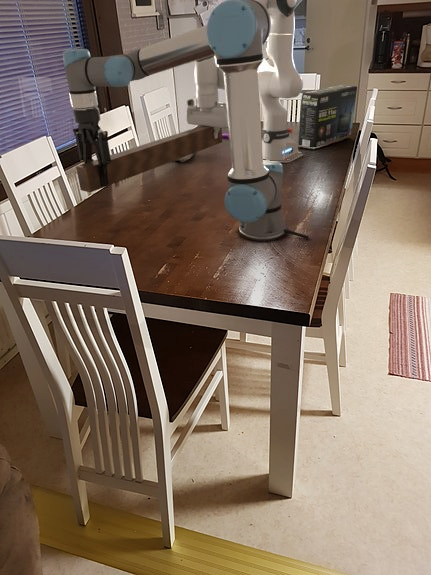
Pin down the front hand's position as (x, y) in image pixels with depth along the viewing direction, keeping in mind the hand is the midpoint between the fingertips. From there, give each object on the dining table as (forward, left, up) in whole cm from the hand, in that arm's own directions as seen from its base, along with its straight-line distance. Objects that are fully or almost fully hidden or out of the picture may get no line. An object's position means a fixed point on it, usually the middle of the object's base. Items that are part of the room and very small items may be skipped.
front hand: (99, 184), depth 148 cm
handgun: (+21, -127, -16) cm, 130 cm away
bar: (-3, -29, -1) cm, 30 cm away
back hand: (-6, -59, +2) cm, 59 cm away
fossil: (+27, -84, -16) cm, 89 cm away
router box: (-30, -139, -16) cm, 143 cm away
